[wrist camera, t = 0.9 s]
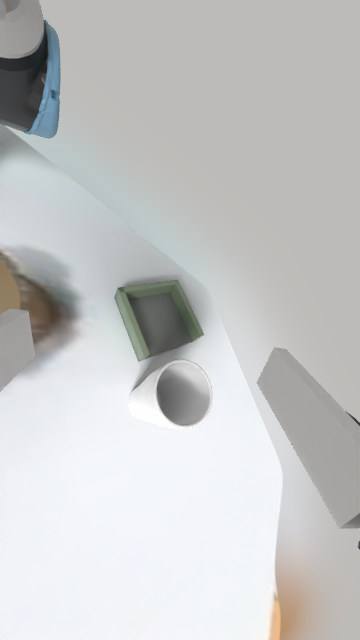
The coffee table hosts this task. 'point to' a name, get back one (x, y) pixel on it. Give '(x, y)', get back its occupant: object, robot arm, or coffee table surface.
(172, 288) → the tray
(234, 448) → the coffee table surface
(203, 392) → the drinking glass
